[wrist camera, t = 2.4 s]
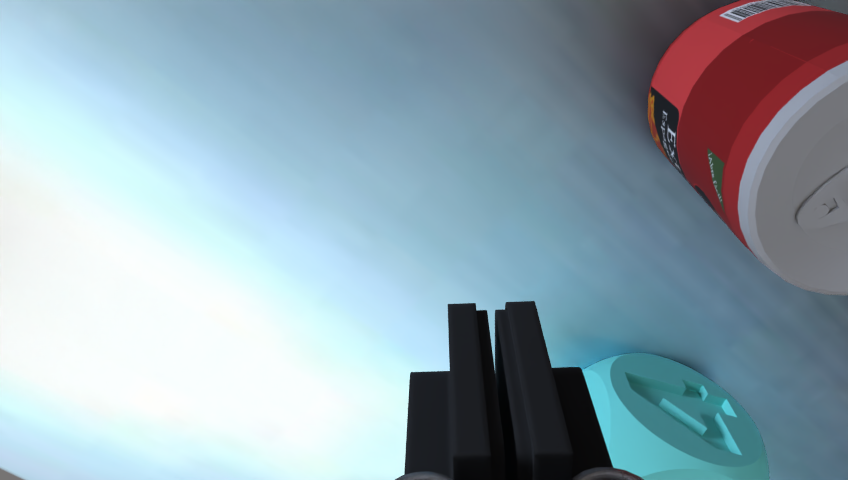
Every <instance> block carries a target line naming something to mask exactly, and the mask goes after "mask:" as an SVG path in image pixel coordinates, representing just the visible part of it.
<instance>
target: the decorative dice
mask: <svg viewBox="0 0 848 480" xmlns="http://www.w3.org/2000/svg"><path fill="white" fill-rule="evenodd" d="M582 372H583V374H584V377H585V380H586V384H587V387H588V390H589V393H590V396H591V399H592V402H593V405H594V409H595V412H596V415H597V418H598V421H599V424H600V427H601V431H602V434H603V437H604V440H605V443H606V446H607V449H608V452H609V456H610V459H611V462H612V465H613V468H617V469H622V470H626V471H628V472H631V473H633V474H635V475H637V476H640V477H641V478H642V479H644V480H769V467H768V459H767V454H766V450H765V446H764V443H763V440H762V438H761V435H760V433H759V431H758V428H757V427H756V425H755V423H754V422H753V420H752V419H751V417H750V416H749V414H748V413H747V412H746V411H745V410H744V408H743V407H742V406H741V405H740V404H739V403H738V402H737V401H736V400H735V399H734V398H733V397H732V396H731V395H729V394H728V393H727V392H726V391H725V390H723V389H722V388H721V387H720V386H718V385H717V384H715V383H714V382H713V381H711V380H710V379H708V378H707V377H705V376H703V375H702V374H700V373H698V372H697V371H695V370H693V369H691V368H689V367H687V366H685V365H683V364H680V363H678V362H676V361H673V360H670V359H667V358H664V357H661V356H657V355H652V354H646V353H629V354H622V355H617V356H613V357H610V358H607V359H604V360H601V361H598V362H596V363H594V364H592V365H590V366H589V367H587V368H585V369H584V370H582Z"/></svg>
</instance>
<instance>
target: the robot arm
mask: <svg viewBox="0 0 848 480" xmlns="http://www.w3.org/2000/svg"><path fill="white" fill-rule="evenodd" d="M448 325H449V357H450V371H437V372H411V374H410V385H409V403H408V421H407V439H406V457H405V475H403V476H401V477H399V478H397V479H395V480H644V479H642V478H641V477H640V476H637V475H635V474H633V473H631V472H628V471H626V470H622V469H617V468H613V465H612V462H611V459H610V456H609V452H608V449H607V446H606V443H605V440H604V437H603V434H602V431H601V427H600V424H599V421H598V418H597V415H596V412H595V409H594V405H593V402H592V399H591V396H590V393H589V390H588V387H587V384H586V380H585V377H584V374H583V372H582V369H581V368H580V367H568V368H551V364H550V360H549V356H548V352H547V348H546V344H545V340H544V336H543V332H542V328H541V324H540V320H539V316H538V312H537V308H536V305H535V302H534V301H525V302H506V305H505V310H495V370H494V362H493V354H492V347H491V339H490V331H489V323H488V315H487V310H479V311H476V304H475V303H467V304H448Z"/></svg>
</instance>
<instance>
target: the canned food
mask: <svg viewBox="0 0 848 480" xmlns="http://www.w3.org/2000/svg"><path fill="white" fill-rule="evenodd" d="M648 120H649V125H650V130H651V133H652V136H653V138H654V140H655V142H656V145H657V147H658V148H659V149H660V150H661V152H662V153H663V154H664V155H665V157H666V158H667V159H668V160H669V161H670V162H671V164H672V165H673V166H674V167H675V168H676V169H677V170H678V171H679V173H680V174H681V175H682V176H683V177H684V178H685V179H686V180H687V182H688V183H689V184H690V185H691V186H692V187H693V188H694V189H695V190H696V192H697V193H698V194H699V195H700V196H701V197H702V198H703V199H704V201H705V202H706V203H707V204H708V205H709V206H710V207H711V208H712V210H713V211H714V212H715V213H716V214H717V215H718V216H719V217H720V219H721V220H722V221H723V222H724V223H725V224H726V225H727V226H728V228H729V229H730V230H731V231H732V232H733V233H734V234H735V235H736V237H737V238H738V239H739V240H740V241H741V242H742V243H743V244H744V245H745V247H747V248H748V249H749V250H750V251H751V252H752V253H753V254H754V255H755V257H756V258H757V259H758V260H759V261H760V262H761V263H763V264H764V265H765V266H766V267H768V268H769V269H770V270H772V271H773V272H774V273H776V274H777V275H778V276H780V277H781V278H782V279H784V280H785V281H786V282H789V283H791V284H793V285H795V286H798V287H800V288H802V289H804V290H808V291H813V292H818V293H822V294H827V295H848V15H846V14H843V13H839V12H835V11H831V10H827V9H824V8H820V7H816V6H812V5H808V4H804V3H801V2H797V1H793V0H740V1H737V2H734V3H732V4H729V5H726V6H723V7H721V8H718V9H716V10H714V11H712V12H710V13H708V14H707V15H705V16H703V17H701V18H700V19H698V20H697V21H695V22H694V23H693V24H691V25H690V26H689V27H688V28H686V29H685V30H684V31H683V32H682V33H681V34H680V35H679V36H678V37H677V38H676V39H675V40H674V41H673V43H672V44H671V45H670V46H669V47H668V49H667V50H666V52H665V54H664V55H663V57H662V58H661V60H660V61H659V63H658V66H657V68H656V70H655V73H654V75H653V77H652V81H651V85H650V90H649V94H648Z"/></svg>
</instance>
